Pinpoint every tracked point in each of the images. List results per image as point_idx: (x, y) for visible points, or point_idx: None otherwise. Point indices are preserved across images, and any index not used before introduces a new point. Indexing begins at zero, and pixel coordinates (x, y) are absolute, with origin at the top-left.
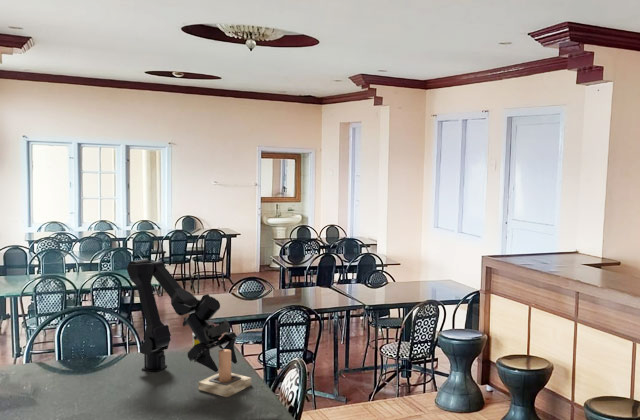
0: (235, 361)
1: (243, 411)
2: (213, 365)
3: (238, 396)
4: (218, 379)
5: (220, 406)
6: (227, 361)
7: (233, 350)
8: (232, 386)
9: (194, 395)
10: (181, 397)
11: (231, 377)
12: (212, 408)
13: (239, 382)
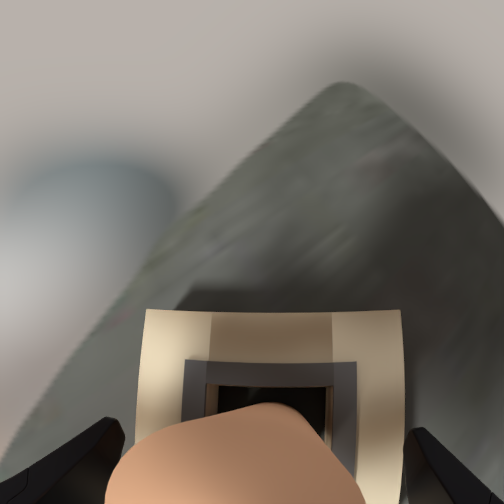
0: (112, 431)
1: (430, 166)
2: (460, 466)
3: (337, 280)
4: None
5: (469, 270)
6: (292, 419)
7: (20, 483)
8: (342, 316)
9: None
10: None
11: None
12: (499, 284)
13: (256, 324)
